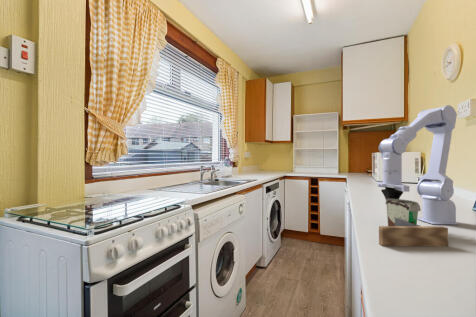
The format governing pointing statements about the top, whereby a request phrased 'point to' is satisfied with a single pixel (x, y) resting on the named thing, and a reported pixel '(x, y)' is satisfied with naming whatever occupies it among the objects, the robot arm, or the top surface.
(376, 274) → the top surface
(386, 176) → the robot arm
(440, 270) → the top surface
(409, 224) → the bookend
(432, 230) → the shelf panel
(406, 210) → the food container
